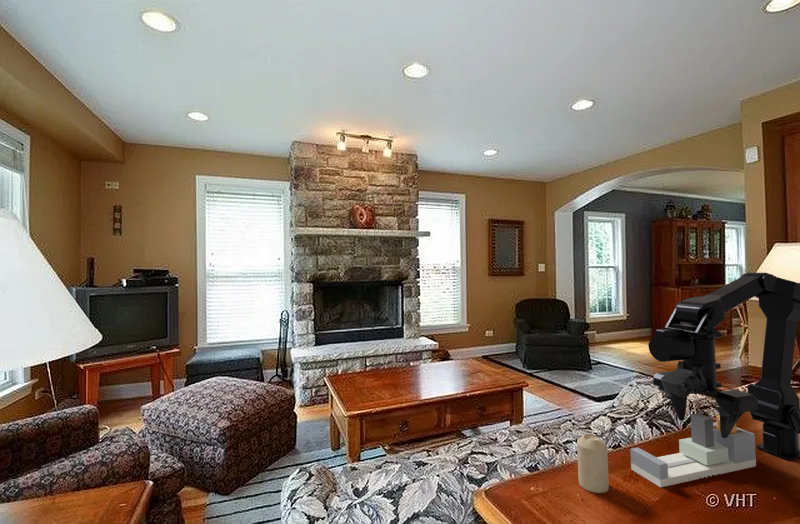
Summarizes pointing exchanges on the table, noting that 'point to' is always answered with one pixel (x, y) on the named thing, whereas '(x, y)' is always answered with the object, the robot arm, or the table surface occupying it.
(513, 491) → the table surface
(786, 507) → the table surface
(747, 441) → the rail
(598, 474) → the candle
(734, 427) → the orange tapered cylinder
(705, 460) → the carriage
